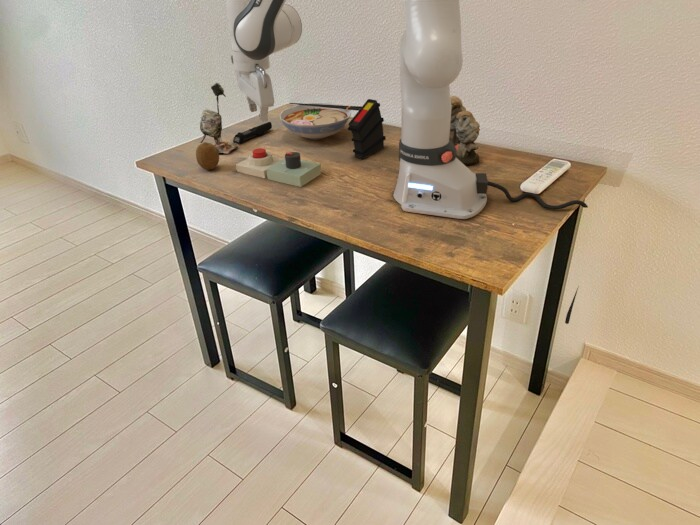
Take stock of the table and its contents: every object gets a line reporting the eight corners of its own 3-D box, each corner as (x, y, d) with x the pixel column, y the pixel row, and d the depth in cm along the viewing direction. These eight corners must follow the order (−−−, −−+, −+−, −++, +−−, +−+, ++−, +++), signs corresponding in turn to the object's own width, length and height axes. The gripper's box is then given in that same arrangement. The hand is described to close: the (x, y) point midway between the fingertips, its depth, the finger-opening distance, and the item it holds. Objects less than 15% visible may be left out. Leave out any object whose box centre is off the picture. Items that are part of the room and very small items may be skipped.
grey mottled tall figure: (214, 143, 165) (202, 78, 154) (241, 149, 160) (231, 82, 149) (195, 152, 159) (181, 85, 148) (223, 158, 154) (211, 89, 143)
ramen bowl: (265, 143, 163) (261, 118, 158) (299, 121, 180) (296, 97, 176) (338, 153, 154) (336, 126, 150) (366, 128, 171) (365, 103, 167)
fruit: (196, 168, 148) (190, 141, 144) (218, 163, 151) (213, 136, 146) (201, 175, 144) (196, 148, 139) (224, 170, 146) (219, 143, 142)
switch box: (286, 166, 147) (284, 152, 145) (264, 178, 141) (262, 164, 138) (258, 160, 152) (257, 146, 150) (236, 171, 145) (234, 158, 143)
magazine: (391, 139, 157) (378, 99, 146) (368, 170, 153) (353, 131, 141) (381, 137, 159) (367, 97, 148) (358, 167, 155) (342, 129, 143)
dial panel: (321, 173, 142) (320, 163, 140) (300, 187, 135) (299, 176, 133) (289, 166, 147) (287, 156, 145) (267, 179, 140) (266, 168, 138)
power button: (269, 155, 145) (268, 149, 144) (260, 160, 142) (260, 153, 141) (259, 153, 146) (258, 147, 145) (250, 157, 144) (249, 151, 143)
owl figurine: (410, 158, 149) (412, 98, 139) (428, 145, 157) (430, 87, 147) (470, 170, 140) (476, 107, 131) (485, 155, 149) (492, 95, 139)
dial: (304, 164, 140) (302, 152, 138) (295, 170, 137) (294, 157, 135) (291, 162, 142) (290, 149, 140) (283, 167, 139) (281, 155, 137)
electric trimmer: (275, 131, 173) (274, 122, 171) (240, 145, 162) (239, 135, 161) (267, 129, 174) (266, 120, 173) (232, 143, 164) (231, 133, 163)
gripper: (277, 67, 123) (283, 125, 130) (252, 52, 138) (258, 104, 146) (251, 71, 120) (258, 129, 128) (228, 54, 136) (236, 107, 144)
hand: (258, 115), depth 137 cm, fingers open, 8 cm apart
